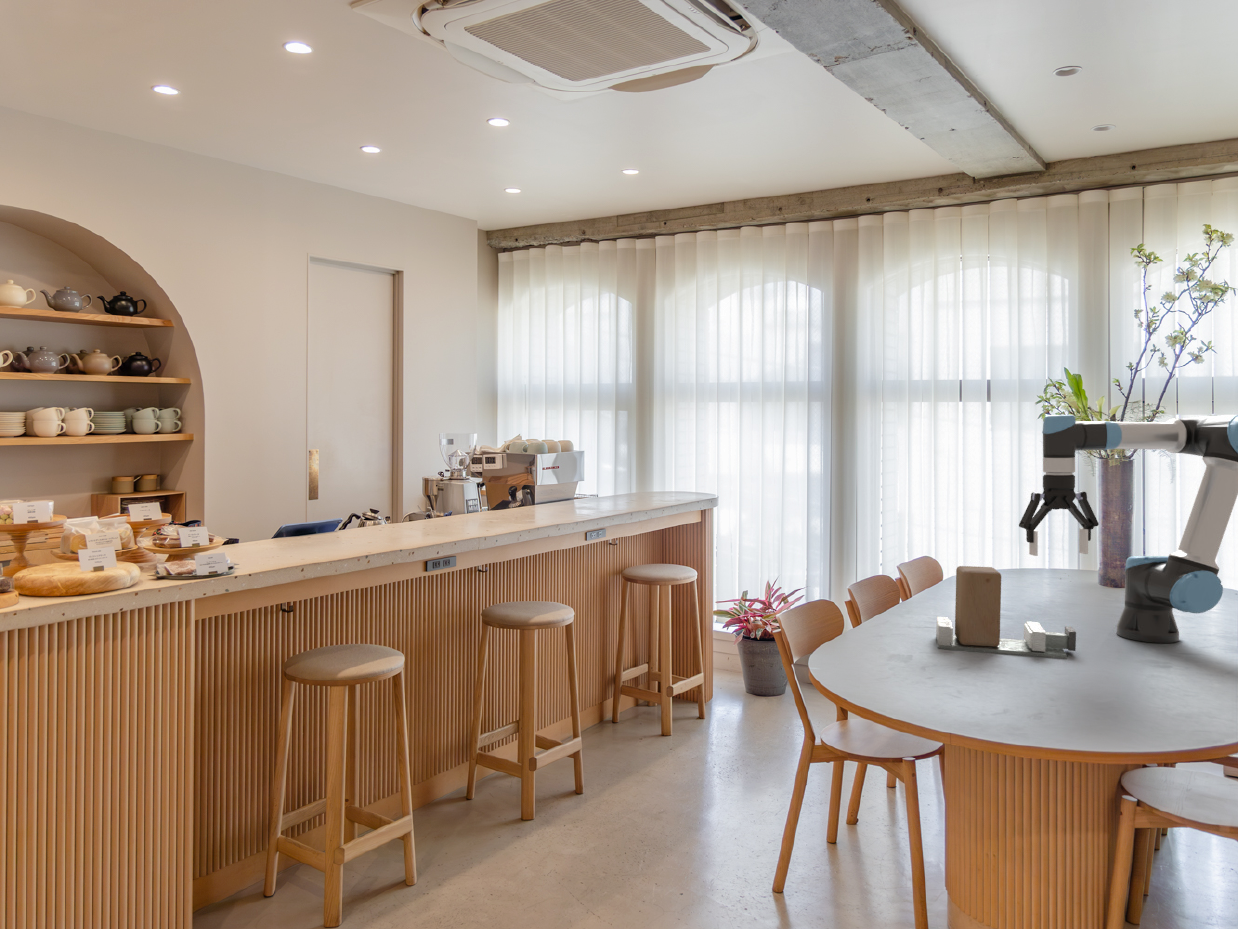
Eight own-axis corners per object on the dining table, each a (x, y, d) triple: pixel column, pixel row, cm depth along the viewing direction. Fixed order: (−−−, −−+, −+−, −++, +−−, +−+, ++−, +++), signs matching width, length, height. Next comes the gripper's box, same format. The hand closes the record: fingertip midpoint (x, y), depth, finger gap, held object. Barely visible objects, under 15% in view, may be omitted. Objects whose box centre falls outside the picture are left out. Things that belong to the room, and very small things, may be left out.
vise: (1057, 646, 235) (1058, 624, 235) (1066, 658, 223) (1067, 635, 223) (936, 637, 245) (936, 616, 244) (938, 648, 232) (938, 626, 232)
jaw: (1068, 642, 234) (1069, 624, 234) (1077, 654, 223) (1078, 634, 222) (1023, 639, 237) (1024, 621, 237) (1029, 650, 226) (1030, 631, 226)
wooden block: (1000, 648, 230) (1002, 572, 229) (960, 645, 232) (961, 571, 231) (992, 638, 239) (994, 566, 238) (954, 636, 241) (955, 565, 240)
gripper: (1096, 471, 232) (1095, 550, 233) (1005, 474, 231) (1005, 553, 232) (1113, 473, 224) (1113, 554, 225) (1019, 475, 223) (1019, 557, 224)
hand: (1058, 554), depth 229 cm, fingers open, 13 cm apart
